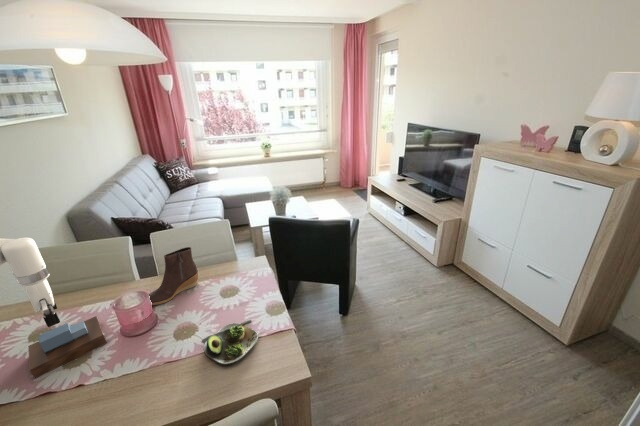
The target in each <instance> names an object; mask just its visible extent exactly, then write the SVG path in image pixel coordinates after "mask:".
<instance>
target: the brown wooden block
mask: <svg viewBox="0 0 640 426" xmlns="http://www.w3.org/2000/svg"><path fill="white" fill-rule="evenodd" d="M83 322H84V324H85V326H86V328H87V331H88V334H87V335H85V336H83V337H81V338H79V339H77V340H75V341H72V342H70V343H68V344H66V345H64V346H62V347H60V348H57V349H55V350H53V351H51V352H49V353H47V354H45V353H44V351H43V349H42V347H41V345H40V344H39V340H38V341H36V342H34V343H32V344H29V345H28V363H29V364H28V365H29V366H28V367H29V371H30V373H31V375H32V376H33V378H34V379H37V378H40V377H41V376H43V375H45V374H47V373H49V372H52V371H53V370H55V369H58V368H59V367H62V366H63V365H65V364H67V363H69V362H71V361H74V360H76V359H78V358H80V357H81V356H83V355H86V354H87V353H89V352H91V351H94V350H96V349H97V348H99V347H101V346H103V345H105V344H107V343H108V341H107V339H106V336H105V335H104V332H103V329H102V327H101V322H100V321H99V318H98V317H97V315H95V316H93V317H91V318H88V319H86V320H83Z"/></svg>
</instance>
